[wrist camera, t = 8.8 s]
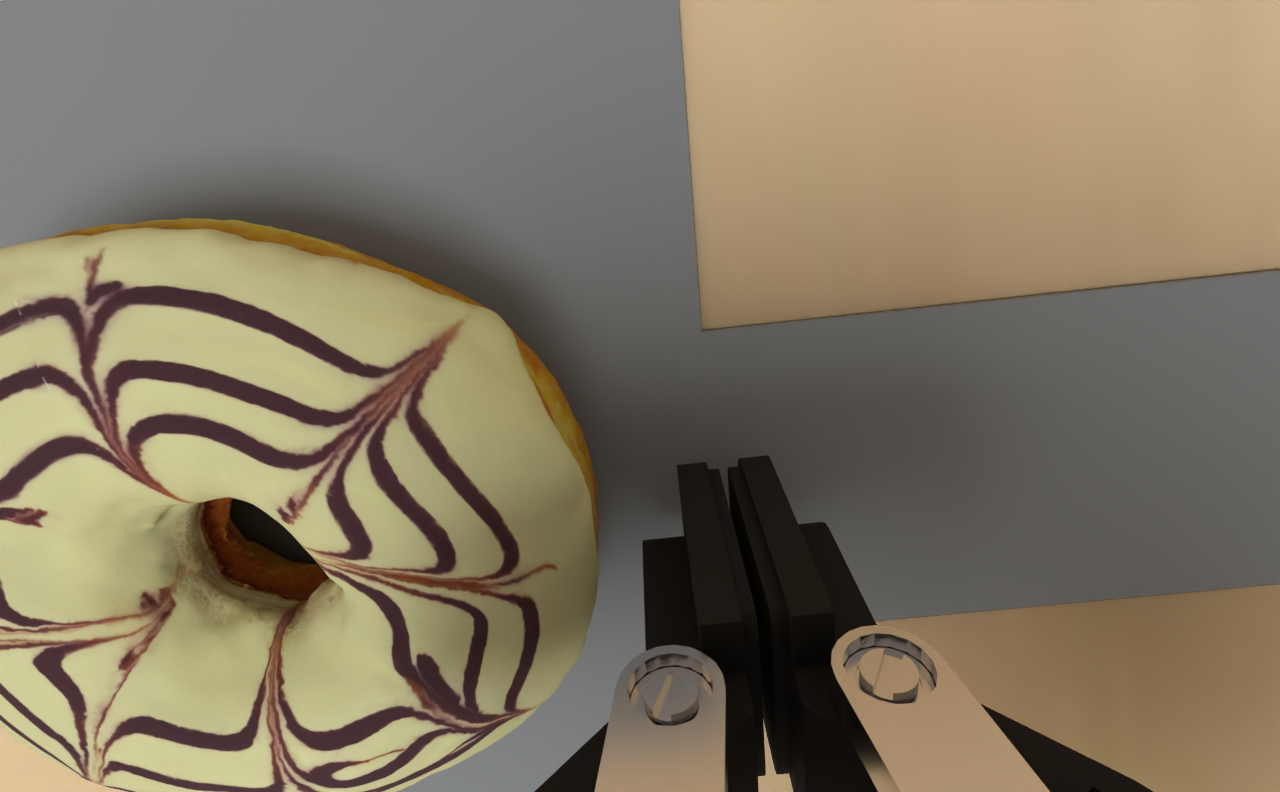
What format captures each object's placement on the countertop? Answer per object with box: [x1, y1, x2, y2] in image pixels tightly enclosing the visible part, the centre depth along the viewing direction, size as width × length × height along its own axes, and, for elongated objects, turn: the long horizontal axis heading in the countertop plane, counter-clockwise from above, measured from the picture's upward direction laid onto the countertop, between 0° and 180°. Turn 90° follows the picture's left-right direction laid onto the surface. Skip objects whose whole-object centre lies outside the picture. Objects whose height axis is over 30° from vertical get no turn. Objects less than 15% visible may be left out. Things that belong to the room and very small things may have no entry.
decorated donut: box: [0, 218, 600, 792], centre depth 10 cm, size 10×11×4 cm
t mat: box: [0, 0, 1280, 792], centre depth 12 cm, size 30×19×1 cm, turn 96°
